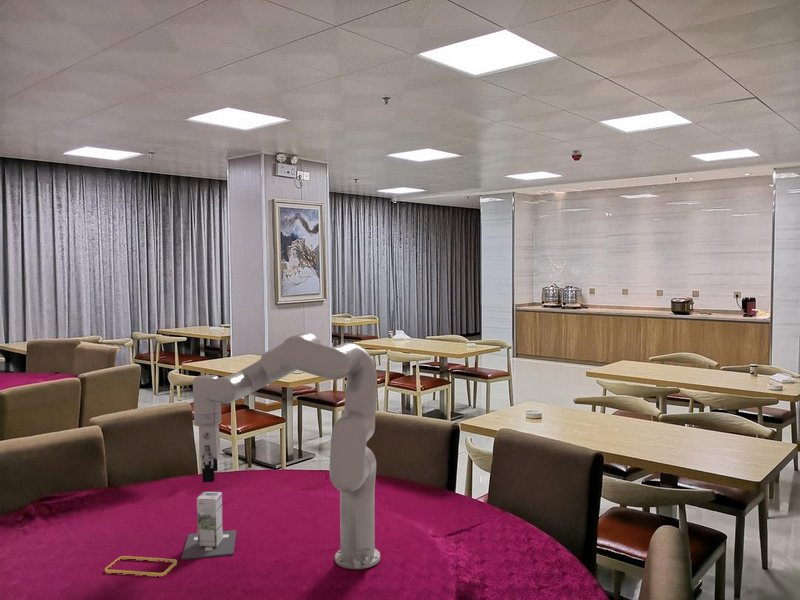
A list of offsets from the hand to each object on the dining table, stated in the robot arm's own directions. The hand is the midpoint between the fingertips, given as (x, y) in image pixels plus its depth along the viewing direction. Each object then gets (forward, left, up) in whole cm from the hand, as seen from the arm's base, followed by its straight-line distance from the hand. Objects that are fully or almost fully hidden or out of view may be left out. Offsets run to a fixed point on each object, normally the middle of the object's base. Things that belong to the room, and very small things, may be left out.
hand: (210, 476), depth 183 cm
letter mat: (0, 0, -20) cm, 20 cm away
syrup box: (0, 0, -20) cm, 20 cm away
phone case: (-10, +17, -21) cm, 29 cm away
